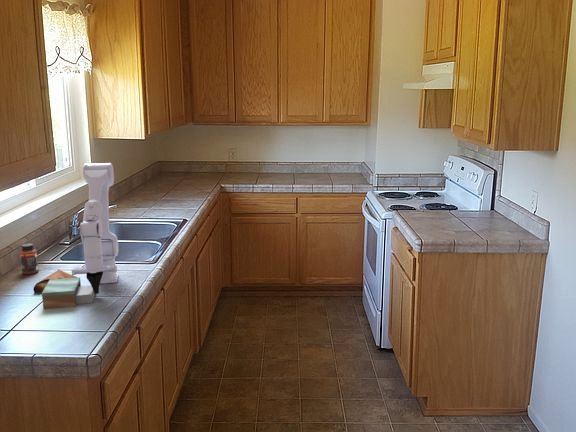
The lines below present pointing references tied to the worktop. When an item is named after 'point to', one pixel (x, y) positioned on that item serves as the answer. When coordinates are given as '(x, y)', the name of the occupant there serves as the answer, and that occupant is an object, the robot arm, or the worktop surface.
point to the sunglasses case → (56, 275)
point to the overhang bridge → (60, 293)
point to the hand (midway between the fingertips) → (96, 292)
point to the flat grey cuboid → (84, 294)
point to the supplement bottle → (28, 259)
